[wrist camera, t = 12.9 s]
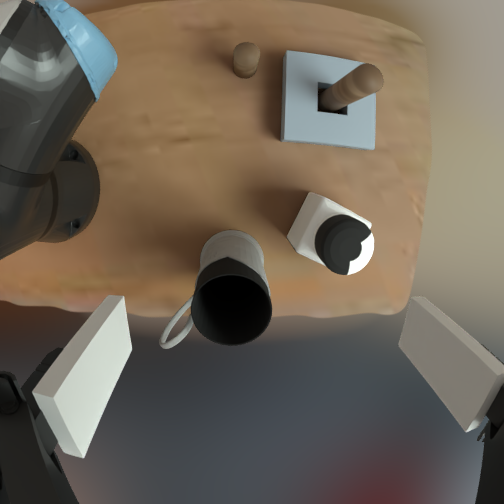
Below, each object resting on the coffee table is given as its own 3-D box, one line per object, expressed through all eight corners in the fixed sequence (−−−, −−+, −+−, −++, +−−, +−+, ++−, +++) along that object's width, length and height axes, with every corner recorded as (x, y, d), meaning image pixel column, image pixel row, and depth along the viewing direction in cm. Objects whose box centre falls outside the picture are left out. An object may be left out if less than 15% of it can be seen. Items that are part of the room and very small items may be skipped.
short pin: (232, 78, 35) (232, 64, 29) (233, 58, 34) (234, 41, 28) (255, 78, 35) (259, 65, 30) (256, 59, 34) (260, 42, 29)
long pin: (315, 111, 37) (354, 89, 23) (316, 91, 36) (355, 60, 23) (337, 114, 37) (383, 95, 24) (337, 94, 36) (383, 67, 23)
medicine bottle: (285, 237, 42) (304, 266, 30) (308, 190, 40) (338, 201, 28) (329, 258, 43) (360, 291, 31) (352, 213, 41) (392, 233, 30)
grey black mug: (276, 267, 43) (296, 320, 28) (196, 320, 44) (182, 386, 30) (239, 217, 40) (242, 247, 26) (158, 275, 42) (125, 329, 28)
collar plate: (280, 141, 38) (284, 139, 35) (283, 57, 34) (286, 50, 32) (365, 150, 39) (374, 149, 36) (366, 70, 35) (374, 65, 32)
